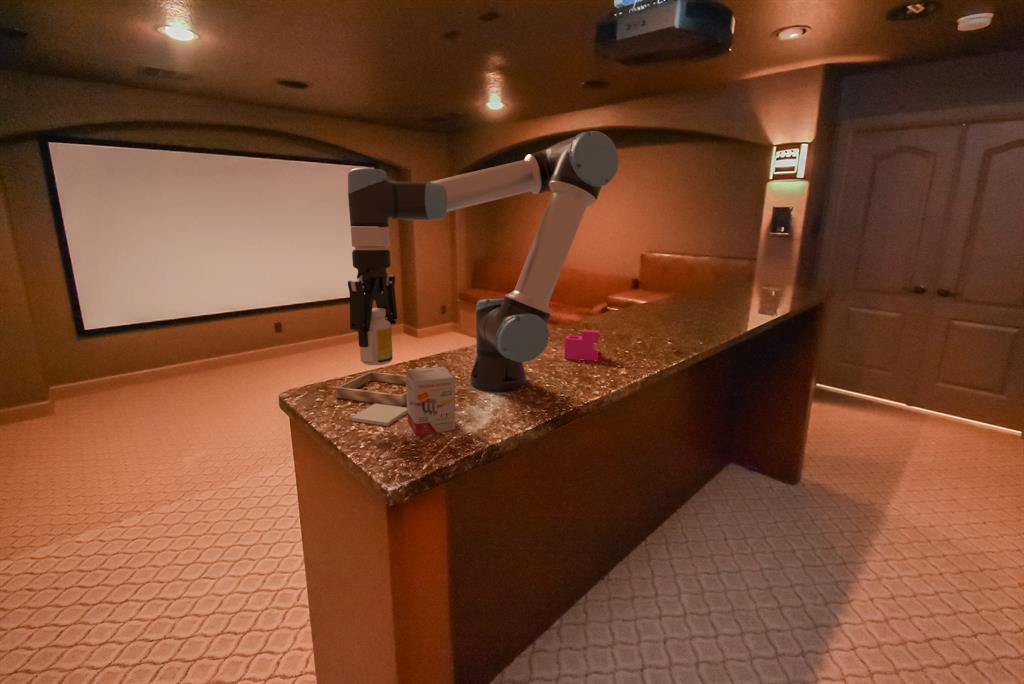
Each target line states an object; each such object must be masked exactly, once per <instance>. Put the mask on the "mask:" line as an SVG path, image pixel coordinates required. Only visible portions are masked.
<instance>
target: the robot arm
mask: <svg viewBox="0 0 1024 684" xmlns="http://www.w3.org/2000/svg"><path fill="white" fill-rule="evenodd" d="M619 161H620V159H619V153H618V151H617V148H616V145H615V143H614V141H613V140H612V139H611V138H610V137H609V136H608V135H606V134H605V133H603V132H600V131H598V130H597V131H596V130H590V131H583V132H580V133H577V135H575V136H572V137H570V138H567V139H565V140H562V141H558V142H557V143H555V144H553V145H551V146H549V147H547V148H545V149H542V150H539V151H537V152H533V153H530V154H526V155H525V157H524V159H522V160H518V161H514V162H510V163H504V164H501V165H495V166H493V167H488V168H484V169H479V170H475V171H471V172H470V171H469V172H466V173H461V174H458V175H454V176H450V177H445V178H441V179H437V180H431V181H427V182H426V181H425V182H423V181H395V180H390V179H388V177H387V172H386V171H385V170H384V169H382V168H381V169H380V168H372V167H360V168H359V167H358V168H357V167H356V168H353V169H350V170H349V172H348V173H347V197H348V198H347V199H348V209H349V210H348V211H349V223H350V236H351V237H350V238H351V247H353V248H354V249H353V250H352V251H351V256H352V267H353V269H356V270H357V274H356V275H357V276H356V278H355V279H354V280H348V281H347V287H348V291H349V329H350V330H352V331H354V332H357V334H358V346H359V354H360V355H359V356H360V357H359V358H360V362H362V361H363V362H374V354H373V337H372V331H369V328H370V321H371V314H372V308H373V305H374V302H375V305H376V308H384V309H385V310H386V316H385V319H386V320H388V321H389V322H390V324H391V325H396V324H397V320H398V310H397V309H398V308H397V300H396V299H397V298H396V289H395V285H396V276H395V275H390V274H389V275H388V273H387V269H389V268H390V267H391V252H390V250H389V249H388V248H389V247H390V246H391V241H390V227H389V226H390V225H389V220H402V221H405V222H414V221H440V220H443V219H445V217H446V216H447V213H448V212H452V211H457V210H461V209H465V208H469V207H473V206H476V205H479V204H480V205H481V204H485V203H488V202H493V201H496V200H501V199H506V198H509V197H510V198H511V197H513V196H517V195H521V194H525V193H529V192H530V193H532V194H533V195H538V194H543V193H549V192H551V194H550V197H549V199H548V203H547V204H546V205H547V206H546V208H545V210H544V213H543V216H542V218H541V221H540V224H539V225H538V228H537V231H536V233H535V236H534V238H533V242H532V244H531V246H530V249H529V252H528V254H527V256H526V259H525V262H524V264H523V266H522V269H521V272H520V274H519V277H518V280H517V282H516V285H515V287H514V290H512V291H511V292H509V293H507V294H505V295H504V297H503V298H485V299H483V298H482V299H479V300H477V302H476V303H475V304H476V306H475V307H476V308H475V330H476V334H475V335H476V337H475V338H476V340H475V341H476V357H475V358H474V359H475V360H474V362H473V366H472V369H471V372H470V378H469V379H470V381H469V382H470V383H469V384H470V386H471V387H473V388H475V389H477V390H481V391H484V392H500V393H501V391H503V392H510V391H509V390H512V391H516V390H515V389H517V390H519V389H518V388H520V389H522V388H523V387H522V386H524V385H525V384H526V385H527V372H526V370H525V366H524V363H527V362H530V361H533V360H535V359H537V358H538V357H539V356H540V355H542V354H543V352H544V351H545V350H546V348H547V346H548V344H549V338H550V331H549V328H548V323H549V319H550V317H551V315H552V311H551V309H550V306H549V302H550V300H551V297H552V295H553V293H554V289H555V288H556V284H557V282H558V279H559V277H560V275H561V272H562V269H563V267H564V265H565V263H566V259H567V257H568V254H569V252H570V249H571V247H572V244H573V242H574V239H575V238H576V234H577V232H578V230H579V227H580V224H581V222H582V219H583V217H584V214H585V212H586V209H587V208H588V207H590V206H592V205H594V204H595V203H596V202H597V200H598V197H599V195H600V192H601V189H602V187H603V186H607V184H609V182H611V181H612V180H613V179H614V178H615V176H616V174H617V172H618V170H619V164H620V163H619ZM392 329H393V327H391V339H392V340H393V338H392V337H393V333H392V332H393V331H392ZM363 362H362V363H363ZM526 385H525V386H526ZM525 386H524V387H525ZM521 387H522V388H521Z"/></svg>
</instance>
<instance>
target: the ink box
mask: <svg viewBox="0 0 1024 684" xmlns="http://www.w3.org/2000/svg"><path fill="white" fill-rule="evenodd" d="M405 376H406V386H405V387H406V391H407V403H406V408H407V413H406V414H407V417H406V418H407V424H409V426H410V428H411V430H412V431H413V433H414V435H416V436H423V435H429V434H430V435H431V434H435V433H441V432H448V431H454V430H456V399H455V398H456V392H455V391H456V388H455V385H456V384H455V383H456V381H455V376H454V375H453V374H452V373H451V372H450V370H448V368H447V367H445V366H435V367H425V368H424V367H423V368H416V369H407V370H406V371H405Z"/></svg>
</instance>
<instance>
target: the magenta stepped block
mask: <svg viewBox="0 0 1024 684" xmlns="http://www.w3.org/2000/svg"><path fill="white" fill-rule="evenodd" d="M599 341H600V330H595V329H594V330H591V329H590V330H589V329H588V330H587V329H582V331H581V335H565V339H564V359H584V360H598V359H599V348H594V344H599Z"/></svg>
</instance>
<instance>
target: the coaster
mask: <svg viewBox="0 0 1024 684" xmlns="http://www.w3.org/2000/svg"><path fill="white" fill-rule="evenodd" d="M406 414H407V406H406V407H405V406H396V405H388V404H381V403H374V404H372V405H370V406H368V407H366V408H365V409H363V410H362V411H360V412H358V413H357V414H354V415H353V416H351V417H350V418H351V419H350V420H351V421H352V422H356V423H357V422H358V423H363V424H364V423H365V424H370V425H377V426H384V427H388V426H391V425H392V424H394V423H395V422H396V421H398V420H399V419H400V418H402V417H404V416H405V415H406Z"/></svg>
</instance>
